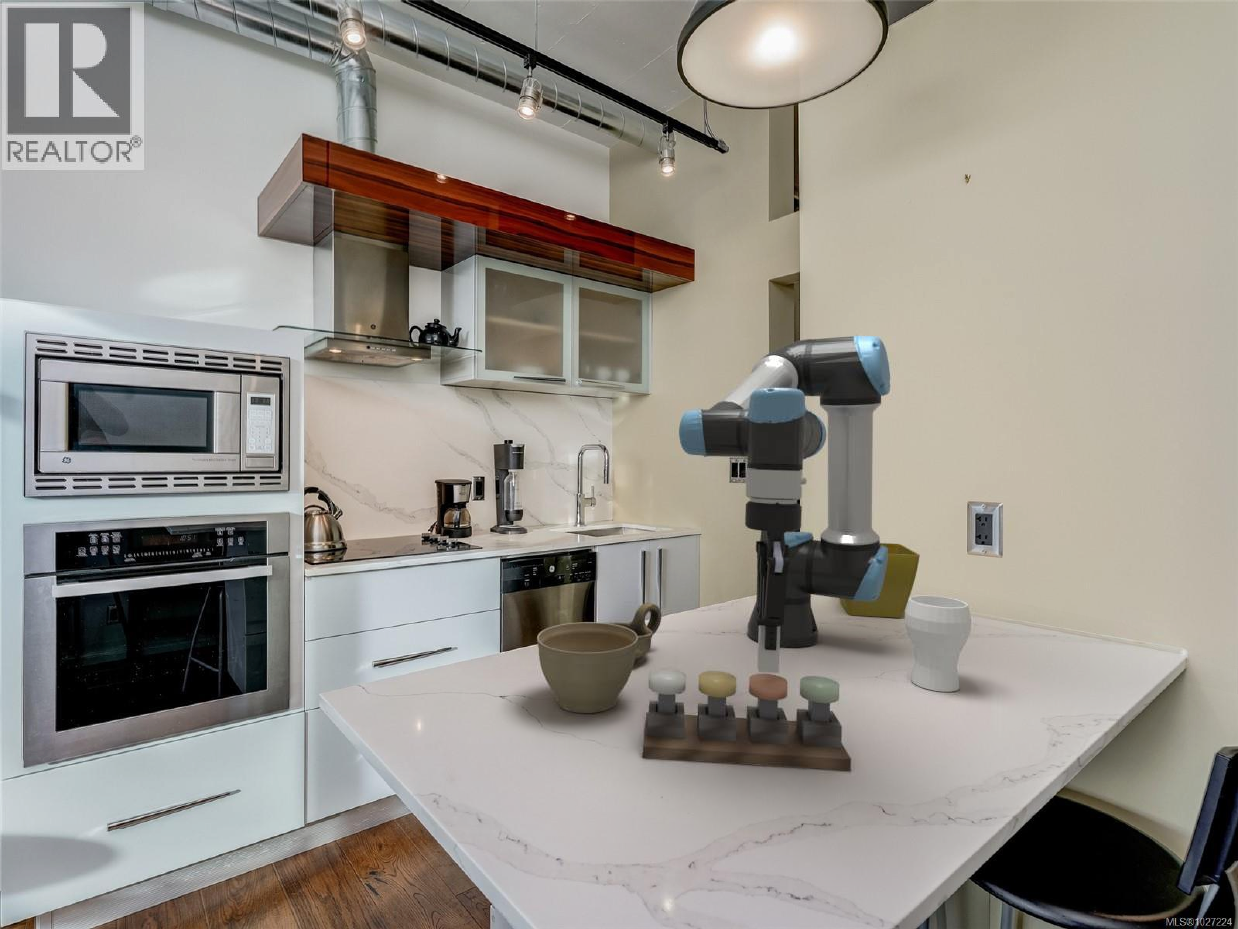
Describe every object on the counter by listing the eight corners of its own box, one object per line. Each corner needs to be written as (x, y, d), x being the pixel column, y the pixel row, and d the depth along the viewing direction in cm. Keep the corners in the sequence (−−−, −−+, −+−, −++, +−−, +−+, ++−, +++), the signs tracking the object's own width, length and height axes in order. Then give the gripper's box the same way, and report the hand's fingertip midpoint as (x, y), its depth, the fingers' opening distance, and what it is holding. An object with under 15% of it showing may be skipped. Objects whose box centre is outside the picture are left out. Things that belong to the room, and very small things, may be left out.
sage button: (803, 727, 86) (804, 688, 86) (795, 712, 91) (796, 675, 91) (842, 730, 85) (843, 691, 85) (832, 714, 91) (834, 677, 90)
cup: (977, 698, 108) (980, 610, 108) (910, 692, 110) (913, 606, 110) (957, 676, 119) (960, 596, 118) (896, 671, 121) (899, 592, 120)
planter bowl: (543, 682, 111) (545, 620, 111) (636, 685, 111) (638, 623, 110) (527, 722, 95) (529, 649, 95) (636, 726, 94) (637, 653, 94)
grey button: (647, 718, 88) (648, 680, 87) (648, 703, 93) (649, 667, 93) (685, 721, 87) (686, 682, 87) (684, 705, 92) (685, 669, 92)
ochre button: (698, 721, 87) (699, 683, 87) (697, 706, 92) (698, 670, 92) (737, 724, 87) (738, 685, 86) (733, 708, 92) (734, 672, 92)
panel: (642, 757, 85) (643, 724, 85) (646, 722, 96) (646, 692, 96) (850, 770, 83) (851, 736, 82) (829, 733, 94) (830, 702, 93)
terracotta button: (750, 724, 86) (751, 686, 86) (746, 709, 92) (747, 672, 91) (789, 727, 86) (790, 688, 86) (782, 711, 91) (783, 674, 91)
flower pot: (837, 618, 159) (839, 551, 158) (825, 600, 178) (827, 540, 177) (918, 623, 156) (921, 555, 155) (897, 604, 174) (900, 543, 174)
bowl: (567, 655, 126) (569, 605, 125) (638, 641, 136) (639, 595, 136) (607, 676, 115) (608, 621, 114) (681, 659, 125) (682, 609, 124)
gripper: (811, 505, 81) (805, 689, 82) (792, 498, 94) (787, 657, 95) (751, 503, 82) (746, 686, 82) (741, 496, 95) (735, 654, 95)
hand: (768, 670), depth 88 cm, fingers closed
